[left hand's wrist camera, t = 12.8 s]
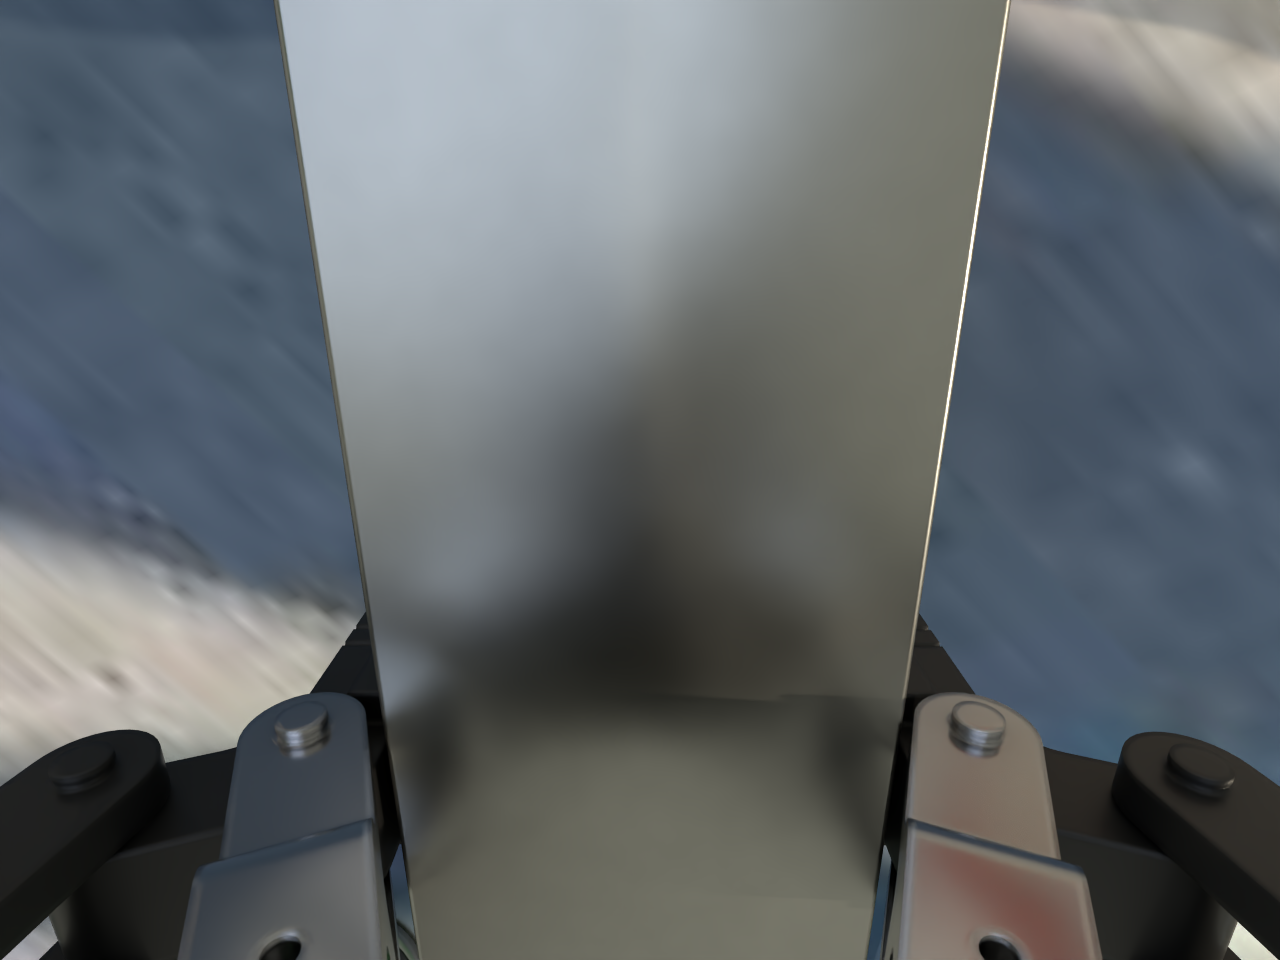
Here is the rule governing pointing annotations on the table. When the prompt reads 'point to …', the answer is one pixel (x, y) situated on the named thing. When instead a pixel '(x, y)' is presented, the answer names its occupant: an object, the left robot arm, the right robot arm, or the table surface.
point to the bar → (642, 440)
